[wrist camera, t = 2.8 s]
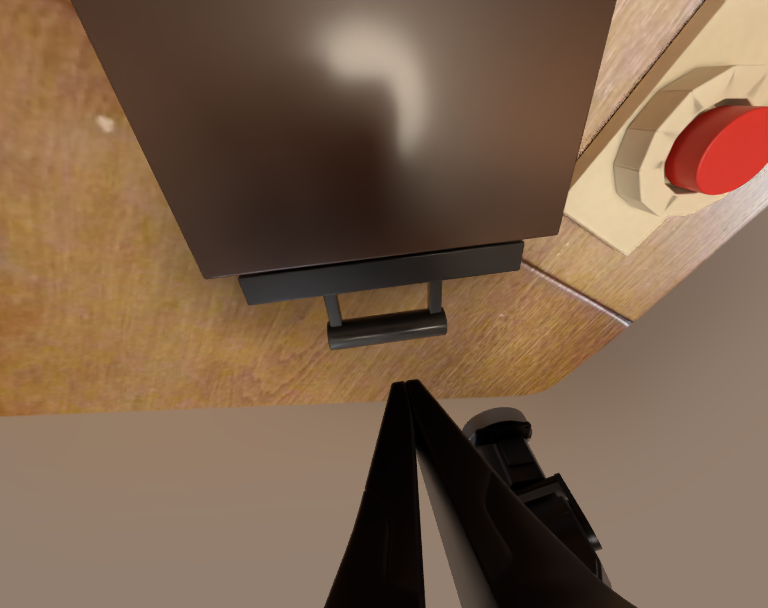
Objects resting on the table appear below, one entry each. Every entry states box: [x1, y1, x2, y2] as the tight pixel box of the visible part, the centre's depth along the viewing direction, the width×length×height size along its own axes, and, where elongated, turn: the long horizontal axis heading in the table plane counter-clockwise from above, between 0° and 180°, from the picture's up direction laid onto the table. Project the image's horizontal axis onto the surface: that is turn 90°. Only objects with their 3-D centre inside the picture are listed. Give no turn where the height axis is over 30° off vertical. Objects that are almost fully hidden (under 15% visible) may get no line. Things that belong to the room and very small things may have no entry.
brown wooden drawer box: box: [71, 0, 617, 279], centre depth 10 cm, size 14×12×9 cm
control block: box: [563, 0, 768, 256], centre depth 16 cm, size 11×7×3 cm, turn 151°
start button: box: [665, 105, 768, 195], centre depth 14 cm, size 4×4×2 cm
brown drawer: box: [238, 240, 524, 350], centre depth 12 cm, size 17×10×7 cm, turn 5°
